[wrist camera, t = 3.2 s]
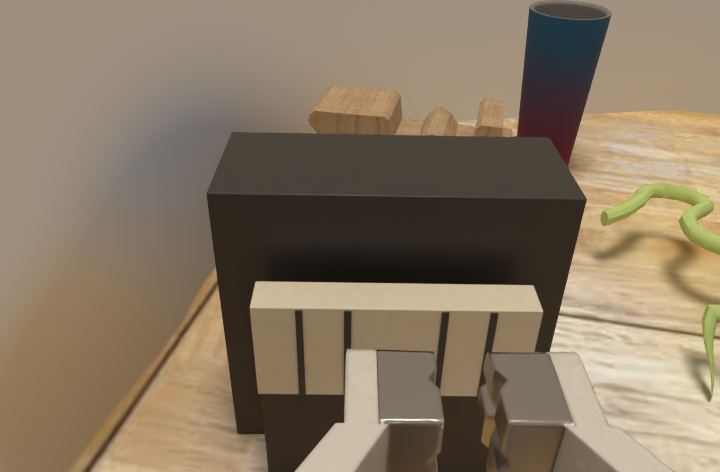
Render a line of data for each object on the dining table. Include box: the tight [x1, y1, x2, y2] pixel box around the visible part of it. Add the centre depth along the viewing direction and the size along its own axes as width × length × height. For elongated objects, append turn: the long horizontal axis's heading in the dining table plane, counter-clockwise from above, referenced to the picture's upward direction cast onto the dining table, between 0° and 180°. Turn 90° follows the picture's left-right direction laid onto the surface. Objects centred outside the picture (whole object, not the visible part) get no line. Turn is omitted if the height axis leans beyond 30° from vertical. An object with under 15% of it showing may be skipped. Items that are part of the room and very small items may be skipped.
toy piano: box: [207, 132, 587, 472], centre depth 32 cm, size 9×16×15 cm, turn 90°
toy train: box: [308, 86, 512, 137], centre depth 52 cm, size 6×17×10 cm, turn 78°
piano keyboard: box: [250, 281, 543, 396], centre depth 28 cm, size 2×12×5 cm, turn 90°
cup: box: [517, 0, 612, 167], centre depth 59 cm, size 7×7×15 cm
